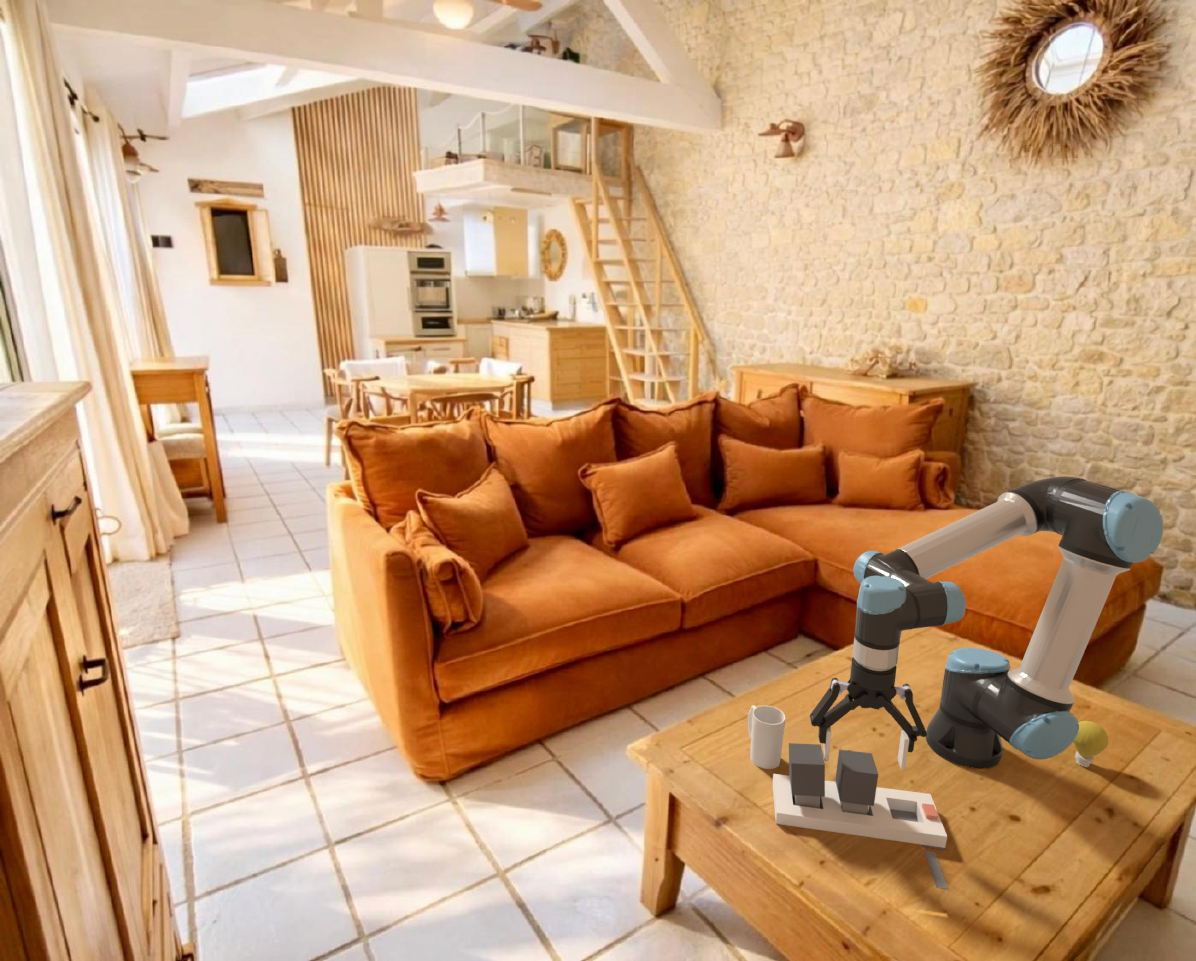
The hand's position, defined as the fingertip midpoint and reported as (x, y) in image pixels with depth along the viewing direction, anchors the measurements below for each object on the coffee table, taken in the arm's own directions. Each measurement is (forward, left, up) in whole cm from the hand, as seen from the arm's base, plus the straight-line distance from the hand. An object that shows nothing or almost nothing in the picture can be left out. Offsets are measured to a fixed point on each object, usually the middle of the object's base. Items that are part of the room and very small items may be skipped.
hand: (863, 760), depth 129 cm
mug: (+17, -14, -13) cm, 26 cm away
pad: (-9, +11, -13) cm, 19 cm away
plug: (+1, 0, -12) cm, 12 cm away
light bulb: (-52, -26, -13) cm, 59 cm away
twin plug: (+9, 0, -12) cm, 15 cm away
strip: (0, 0, -13) cm, 13 cm away
